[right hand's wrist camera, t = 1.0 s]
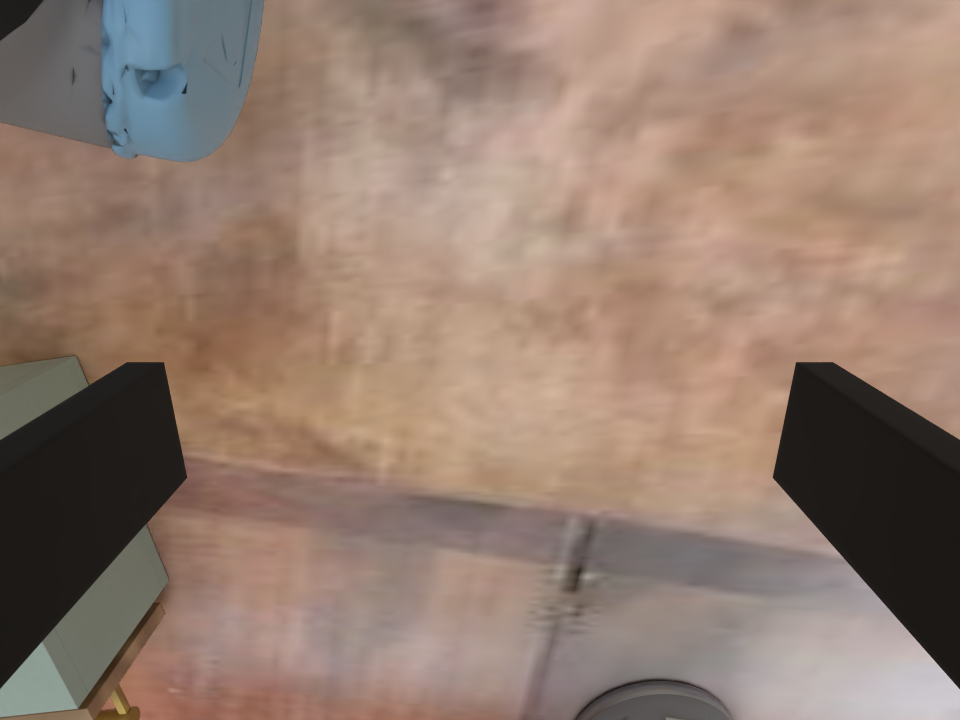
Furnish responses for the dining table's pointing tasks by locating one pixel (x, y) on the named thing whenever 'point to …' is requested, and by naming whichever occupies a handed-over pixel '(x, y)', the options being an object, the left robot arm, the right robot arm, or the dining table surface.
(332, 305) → the dining table surface
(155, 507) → the right robot arm
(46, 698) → the cabinet
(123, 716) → the drawer
